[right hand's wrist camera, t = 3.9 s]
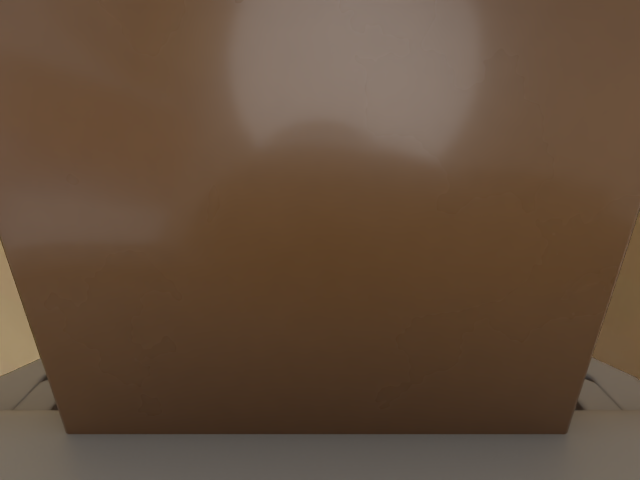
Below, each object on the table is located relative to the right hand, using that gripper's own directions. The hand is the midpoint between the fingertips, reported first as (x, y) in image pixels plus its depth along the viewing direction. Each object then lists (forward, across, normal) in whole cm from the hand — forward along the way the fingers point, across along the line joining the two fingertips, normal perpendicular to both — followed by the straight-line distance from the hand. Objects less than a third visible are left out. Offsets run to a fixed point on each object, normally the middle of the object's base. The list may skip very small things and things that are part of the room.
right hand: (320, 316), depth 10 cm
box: (+4, 0, +9) cm, 10 cm away
